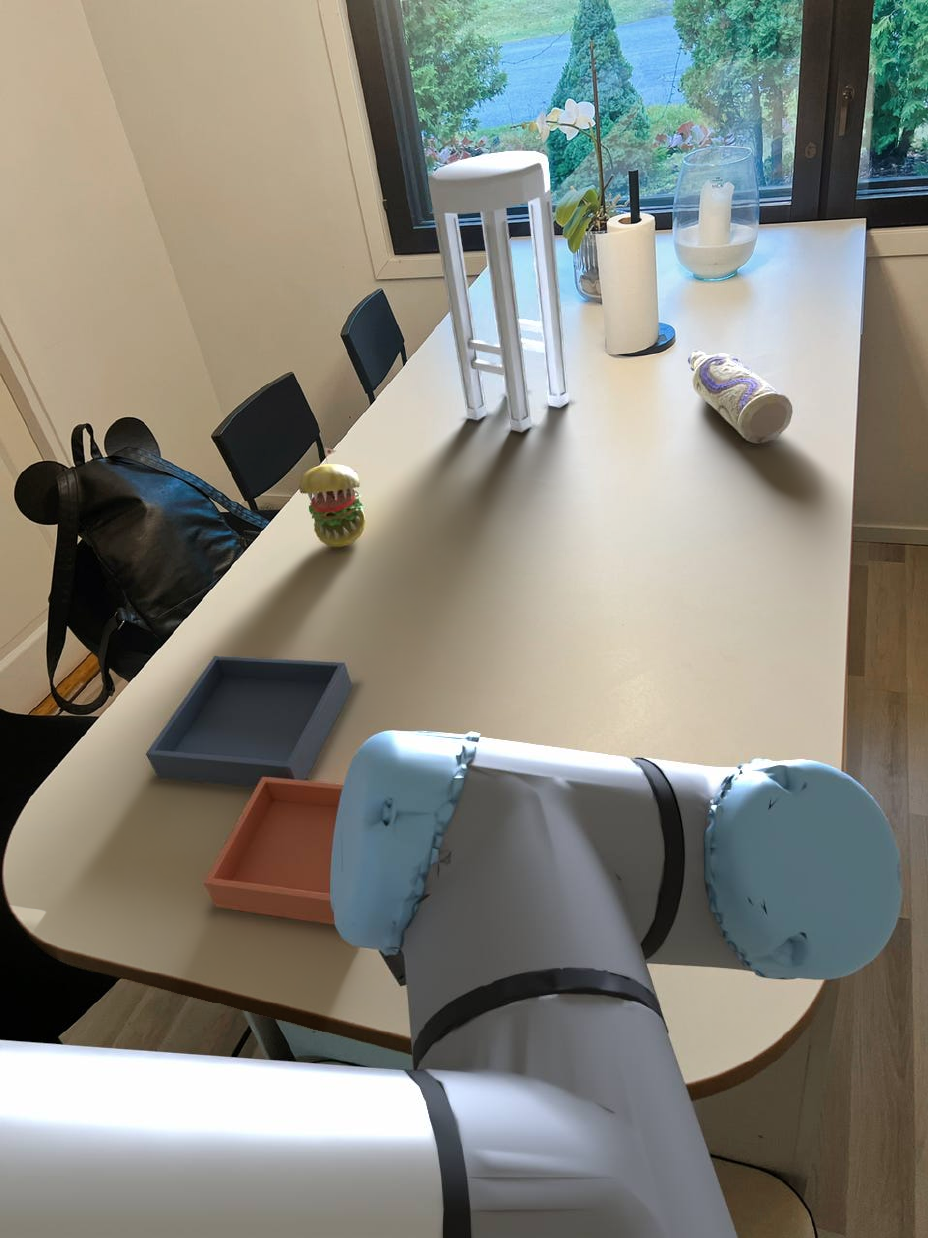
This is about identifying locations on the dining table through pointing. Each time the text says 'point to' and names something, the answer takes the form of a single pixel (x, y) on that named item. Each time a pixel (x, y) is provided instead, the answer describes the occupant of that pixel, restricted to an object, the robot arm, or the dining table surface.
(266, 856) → the terracotta tray
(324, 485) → the hamburger
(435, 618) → the dining table surface
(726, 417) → the decorative bottle
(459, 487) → the dining table surface
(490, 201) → the stool
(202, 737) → the slate tray
